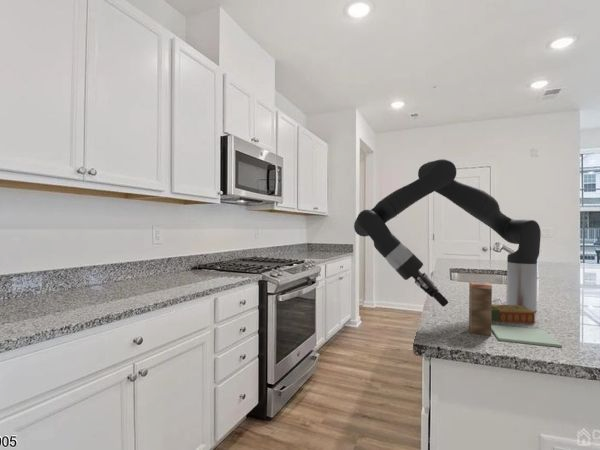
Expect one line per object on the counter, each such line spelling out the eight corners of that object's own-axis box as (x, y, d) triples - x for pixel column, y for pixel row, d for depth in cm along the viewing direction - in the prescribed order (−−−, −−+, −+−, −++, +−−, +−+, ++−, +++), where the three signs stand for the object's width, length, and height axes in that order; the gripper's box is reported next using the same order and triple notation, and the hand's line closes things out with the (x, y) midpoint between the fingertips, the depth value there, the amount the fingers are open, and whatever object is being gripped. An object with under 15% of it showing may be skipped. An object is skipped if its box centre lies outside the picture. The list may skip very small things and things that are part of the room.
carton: (535, 324, 106) (535, 310, 106) (481, 321, 108) (481, 308, 108) (521, 317, 114) (521, 304, 114) (471, 314, 117) (471, 302, 117)
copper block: (471, 333, 95) (471, 284, 95) (469, 328, 100) (469, 281, 100) (491, 335, 93) (491, 285, 93) (487, 330, 98) (488, 282, 98)
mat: (498, 340, 89) (498, 338, 89) (489, 326, 102) (489, 324, 102) (561, 347, 85) (561, 344, 85) (543, 332, 97) (543, 330, 97)
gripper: (412, 254, 97) (458, 300, 93) (413, 251, 109) (453, 292, 105) (393, 271, 98) (437, 317, 94) (396, 266, 111) (435, 307, 107)
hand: (445, 304), depth 100 cm, fingers closed
